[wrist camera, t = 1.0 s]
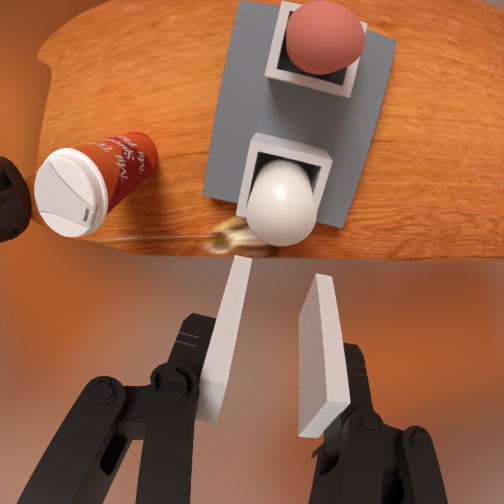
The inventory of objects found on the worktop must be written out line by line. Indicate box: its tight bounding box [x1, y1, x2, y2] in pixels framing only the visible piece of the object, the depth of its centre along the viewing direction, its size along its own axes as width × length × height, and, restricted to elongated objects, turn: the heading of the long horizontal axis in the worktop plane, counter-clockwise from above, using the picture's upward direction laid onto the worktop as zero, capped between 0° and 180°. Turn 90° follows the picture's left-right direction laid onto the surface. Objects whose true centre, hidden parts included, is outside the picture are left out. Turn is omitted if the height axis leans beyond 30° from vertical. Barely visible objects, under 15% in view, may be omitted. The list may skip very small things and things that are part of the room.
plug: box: [246, 159, 317, 246], centre depth 24 cm, size 5×5×7 cm
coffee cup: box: [34, 132, 157, 237], centre depth 28 cm, size 8×8×15 cm
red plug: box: [286, 1, 365, 75], centre depth 17 cm, size 5×5×7 cm
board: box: [203, 0, 397, 228], centre depth 26 cm, size 16×22×8 cm
